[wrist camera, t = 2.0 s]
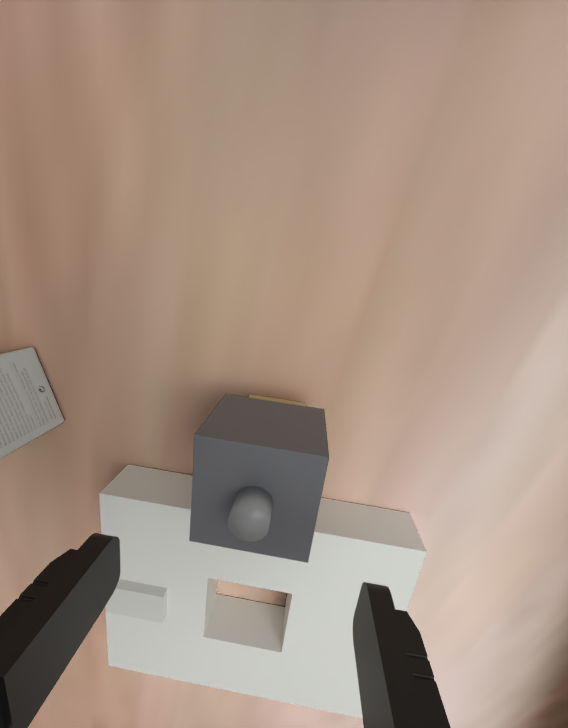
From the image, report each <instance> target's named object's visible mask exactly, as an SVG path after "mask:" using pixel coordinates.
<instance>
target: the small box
mask: <svg viewBox="0 0 568 728" xmlns="http://www.w3.org/2000/svg"><path fill="white" fill-rule="evenodd" d="M63 422H64V418H63V416H62V413H61V411H60V409H59V406H58V404H57V402H56V399H55V397H54V394H53V392H52V390H51V388H50V385H49V383H48V380H47V378H46V376H45V373H44V371H43V368H42V366H41V364H40V361H39V359H38V357H37V354H36V352H35V350H34V348H33V347H27V348H23V349H18V350H14V351H9V352H4V353H0V459H1V458H3V457H4V456H6V455H8V454H10V453H11V452H13V451H15V450H16V449H18V448H20V447H22V446H24V445H25V444H27V443H29V442H30V441H32V440H34V439H36V438H38V437H39V436H41V435H42V434H44V433H46V432H48V431H50V430H51V429H53V428H55V427H56V426H58V425H60V424H61V423H63Z"/></svg>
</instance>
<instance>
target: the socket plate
mask: <svg viewBox="0 0 568 728" xmlns="http://www.w3.org/2000/svg"><path fill="white" fill-rule="evenodd" d="M192 476H193V475H187V474H181V473H175V472H170V471H164V470H158V469H152V468H146V467H141V466H135V465H129V464H128V465H127V466H126V467H125V468H124V469H123V470H122V471H121V472H120V473H119V474H118V475H117V476H116V477H115V478H114V479H113V480H112V481H111V482H110V483H109V484H108V485H107V486H106V487H105V488H104V489H103V490H102V491H101V492H100V493H99V500H100V518H101V534H104V535H110V536H115V537H118V538H119V540H120V577H119V581H118V584H117V586H116V589H115V591H114V593H113V594H112V596H111V598H110V599H109V601H108V602H107V604H106V606H105V608H106V626H107V644H108V662H109V666H113V667H118V668H123V669H127V670H132V671H137V672H142V673H147V674H151V675H156V676H161V677H166V678H171V679H175V680H180V681H185V682H190V683H195V684H199V685H204V686H209V687H214V688H219V689H223V690H228V691H233V692H238V693H243V694H247V695H252V696H257V697H262V698H267V699H271V700H276V701H281V702H286V703H291V704H295V705H300V706H305V707H310V708H314V709H319V710H324V711H329V712H334V713H338V714H343V715H348V716H353V717H358V718H362V719H363V716H362V708H361V700H360V692H359V684H358V676H357V668H356V660H355V652H354V644H353V618H354V613H355V609H356V605H357V601H358V598H359V594H360V590H361V586H362V583H363V582H367V583H373V584H378V585H384V586H388V587H389V589H390V592H391V595H392V599H393V602H394V606H395V609H397V610H402V611H407V608H408V605H409V602H410V599H411V596H412V593H413V590H414V587H415V584H416V581H417V578H418V575H419V573H420V570H421V567H422V564H423V561H424V558H425V555H426V549H425V547H424V545H423V542H422V540H421V537H420V535H419V533H418V530H417V528H416V526H415V523H414V521H413V519H412V516H411V514H410V513H407V512H401V511H396V510H390V509H384V508H378V507H372V506H367V505H361V504H355V503H349V502H343V501H338V500H332V499H326V498H321V500H320V505H319V510H318V515H317V520H316V525H315V530H314V535H313V540H312V545H311V550H310V555H309V560H308V563H306V562H301V561H296V560H290V559H285V558H279V557H274V556H268V555H263V554H257V553H252V552H247V551H241V550H236V549H230V548H225V547H219V546H214V545H208V544H203V543H198V542H192V541H189V536H190V516H191V496H192ZM218 580H222V581H227V582H232V583H237V584H243V585H248V586H253V587H259V588H264V589H269V590H274V591H280V592H285V593H288V594H287V599H286V605H285V607H282V606H277V605H272V604H267V603H261V602H256V601H251V600H246V599H241V598H235V597H230V596H225V595H220V594H217V582H218Z"/></svg>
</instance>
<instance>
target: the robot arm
mask: <svg viewBox="0 0 568 728" xmlns="http://www.w3.org/2000/svg"><path fill="white" fill-rule="evenodd" d="M119 577H120V540H119V538H118V537H115V536H110V535H104V534H99V533H94V534H92V535H91V536H90V537H89V538H88V539H87V540H86V541H85V542H84V544H83V545H82V546H81V547H80V548H79V549H78V550H73V549H70V550H68V551H67V552H65V553H64V554H62V555H61V556H59V557H58V558H56V559H55V560H54V561H52V562H51V563H50V564H49V565H48V566H47V567H46V568H45V569H44V570H43V571H42V572H41V573H40V574H39V575H38V576H37V577H36V579H35V580H34V582H33V583H32V584H30V585H29V586H28V587H27V588H26V589H25V590H24V591H23V592H22V593H21V595H20V597H19V598H18V599H16V600H15V601H14V602H13V603H12V604H11V605H10V606H9V607H8V608H7V609H6V611H5V612H4V613H3V614H2V615H1V616H0V728H28V726H29V725H30V723H31V721H32V720H33V718H34V717H35V715H36V714H37V712H38V710H39V709H40V707H41V706H42V704H43V703H44V701H45V700H46V698H47V696H48V695H49V693H50V692H51V690H52V689H53V687H54V685H55V684H56V682H57V681H58V679H59V678H60V676H61V674H62V673H63V671H64V670H65V668H66V667H67V665H68V663H69V662H70V660H71V659H72V657H73V656H74V654H75V653H76V651H77V649H78V648H79V646H80V645H81V643H82V642H83V640H84V638H85V637H86V635H87V634H88V632H89V631H90V629H91V627H92V626H93V624H94V623H95V621H96V620H97V618H98V616H99V615H100V613H101V612H102V610H103V609H104V607H105V606H106V604H107V602H108V601H109V599H110V598H111V596H112V594H113V593H114V591H115V589H116V586H117V584H118V581H119ZM353 644H354V652H355V660H356V668H357V676H358V684H359V692H360V700H361V708H362V716H363V724H364V728H450V725H449V722H448V719H447V715H446V712H445V709H444V706H443V703H442V700H441V697H440V694H439V690H438V687H437V684H436V682H435V681H434V675H433V672H432V669H431V666H430V662H429V661H428V659H427V653H426V650H425V647H424V644H423V641H422V638H421V634H420V632H419V630H418V629H417V627H416V625H415V624H414V622H413V621H412V619H411V618H410V616H409V614H408V613H407V611H402V610H397V609H395V606H394V602H393V599H392V595H391V592H390V589H389V587H388V586H384V585H378V584H373V583H367V582H363V583H362V586H361V590H360V594H359V598H358V601H357V605H356V609H355V613H354V618H353Z"/></svg>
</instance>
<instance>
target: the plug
mask: <svg viewBox="0 0 568 728" xmlns="http://www.w3.org/2000/svg"><path fill="white" fill-rule="evenodd" d="M328 460H329V452H328V442H327V432H326V423H325V413H324V409H319V408H313V407H306V403H303V402H297V401H291V400H284V399H278V398H272V397H265V396H259V395H252V394H250V395H249V397H243V396H237V395H230V394H225V396H224V397H223V398H222V400H221V401H220V402H219V404H218V405H217V406H216V408H215V409H214V410H213V411H212V413H211V414H210V415H209V417H208V418H207V419H206V421H205V422H204V423H203V425H202V426H201V427H200V429H199V430H198V431H197V433H196V434H195V437H194V457H193V476H192V496H191V516H190V536H189V541H192V542H198V543H203V544H208V545H214V546H219V547H225V548H230V549H236V550H241V551H247V552H252V553H257V554H263V555H268V556H274V557H279V558H285V559H290V560H296V561H301V562H306V563H308V560H309V555H310V550H311V545H312V540H313V535H314V530H315V525H316V520H317V515H318V510H319V505H320V500H321V495H322V490H323V485H324V480H325V475H326V470H327V465H328Z"/></svg>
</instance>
